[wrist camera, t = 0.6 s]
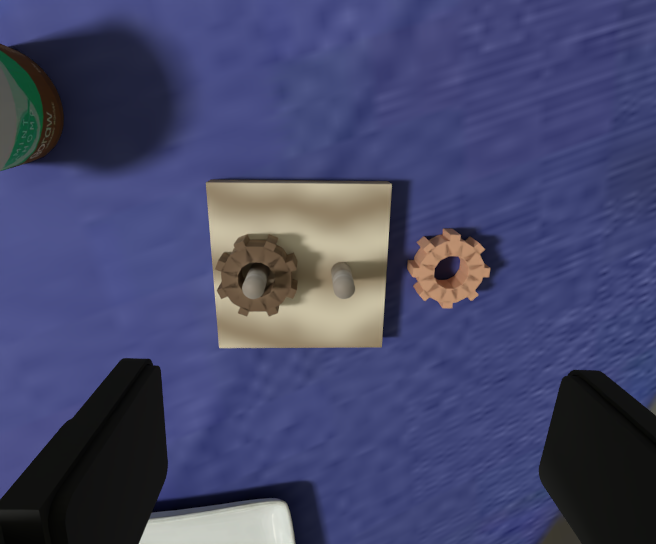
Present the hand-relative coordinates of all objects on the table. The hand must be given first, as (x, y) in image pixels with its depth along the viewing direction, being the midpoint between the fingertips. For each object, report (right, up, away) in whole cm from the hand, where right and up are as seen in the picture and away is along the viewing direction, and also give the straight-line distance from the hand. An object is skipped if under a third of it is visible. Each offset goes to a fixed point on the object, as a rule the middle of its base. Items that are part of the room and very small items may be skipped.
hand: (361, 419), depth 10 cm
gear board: (-3, +4, +31) cm, 32 cm away
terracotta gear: (+11, +4, +32) cm, 34 cm away
